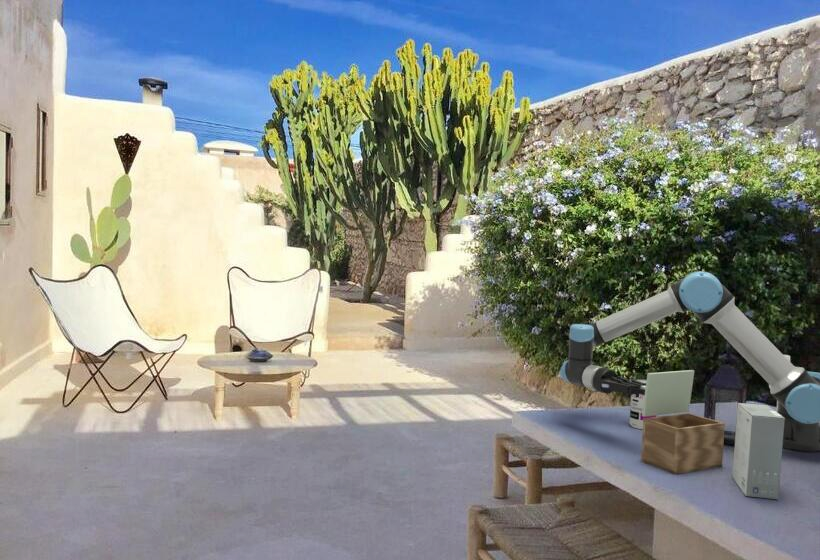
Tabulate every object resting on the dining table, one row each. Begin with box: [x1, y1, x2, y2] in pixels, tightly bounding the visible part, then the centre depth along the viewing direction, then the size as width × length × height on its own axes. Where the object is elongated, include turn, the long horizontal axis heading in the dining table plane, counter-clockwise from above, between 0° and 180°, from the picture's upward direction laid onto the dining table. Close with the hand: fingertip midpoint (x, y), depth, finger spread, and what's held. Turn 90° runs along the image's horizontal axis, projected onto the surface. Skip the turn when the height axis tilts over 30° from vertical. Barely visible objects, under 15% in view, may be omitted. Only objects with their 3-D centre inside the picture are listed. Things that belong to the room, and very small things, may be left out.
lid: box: [642, 369, 695, 417], centre depth 208 cm, size 18×12×1 cm
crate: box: [640, 412, 726, 476], centre depth 204 cm, size 18×12×12 cm
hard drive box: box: [732, 402, 785, 500], centre depth 186 cm, size 16×8×20 cm, turn 168°
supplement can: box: [629, 379, 657, 431], centre depth 244 cm, size 8×8×15 cm
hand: (659, 395), depth 210 cm, fingers closed
